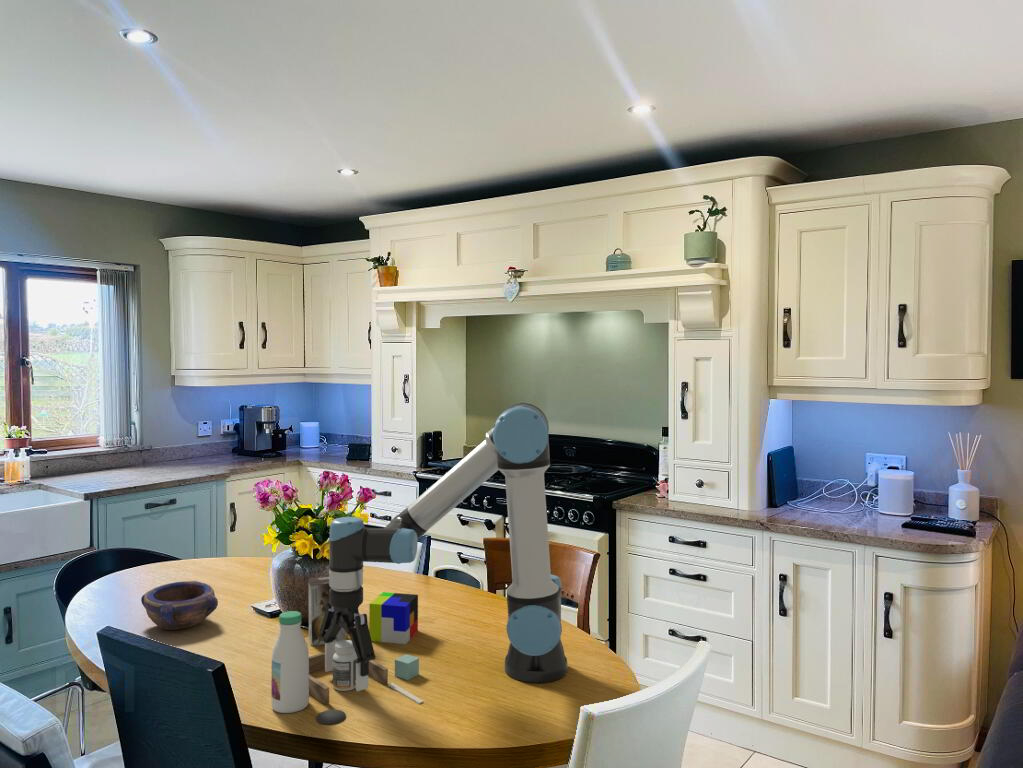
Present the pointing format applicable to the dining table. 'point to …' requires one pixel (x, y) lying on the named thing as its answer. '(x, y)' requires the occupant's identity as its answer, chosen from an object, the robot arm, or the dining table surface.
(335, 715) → the drain disc
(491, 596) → the dining table surface
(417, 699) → the strip
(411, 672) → the teal block
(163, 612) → the bowl
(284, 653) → the milk bottle
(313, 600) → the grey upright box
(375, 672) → the cubby
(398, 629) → the puzzle toy
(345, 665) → the pill bottle
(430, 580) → the dining table surface
